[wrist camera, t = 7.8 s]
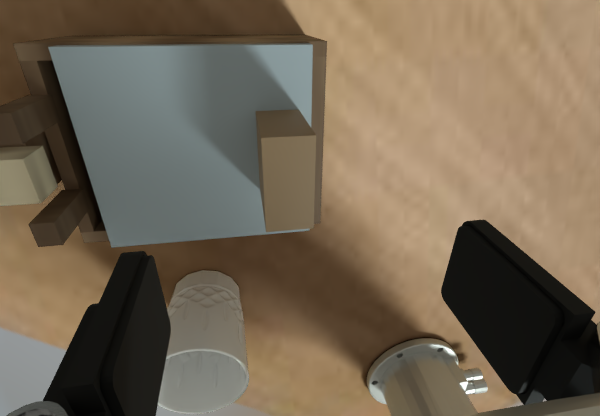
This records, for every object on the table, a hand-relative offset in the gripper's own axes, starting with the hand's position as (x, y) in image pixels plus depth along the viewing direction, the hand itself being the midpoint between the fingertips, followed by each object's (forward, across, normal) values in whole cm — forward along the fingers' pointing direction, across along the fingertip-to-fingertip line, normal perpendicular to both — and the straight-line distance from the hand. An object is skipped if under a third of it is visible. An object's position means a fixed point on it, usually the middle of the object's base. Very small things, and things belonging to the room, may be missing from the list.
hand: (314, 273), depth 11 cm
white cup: (+20, +7, +19) cm, 28 cm away
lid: (+13, +4, 0) cm, 14 cm away
